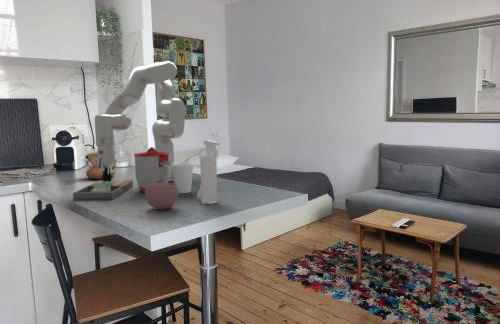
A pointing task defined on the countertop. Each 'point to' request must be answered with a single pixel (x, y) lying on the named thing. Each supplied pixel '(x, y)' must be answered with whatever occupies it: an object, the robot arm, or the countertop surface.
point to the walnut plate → (117, 184)
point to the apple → (161, 195)
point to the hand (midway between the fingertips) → (107, 182)
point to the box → (96, 194)
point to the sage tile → (103, 184)
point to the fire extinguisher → (208, 172)
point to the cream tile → (101, 190)
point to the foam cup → (182, 176)
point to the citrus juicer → (151, 168)
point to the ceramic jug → (95, 167)
